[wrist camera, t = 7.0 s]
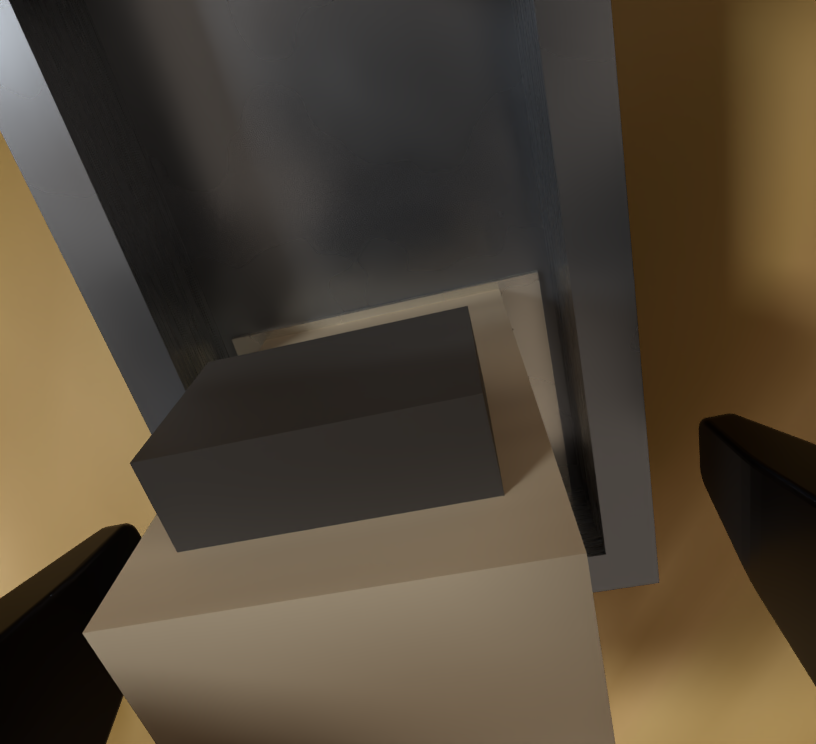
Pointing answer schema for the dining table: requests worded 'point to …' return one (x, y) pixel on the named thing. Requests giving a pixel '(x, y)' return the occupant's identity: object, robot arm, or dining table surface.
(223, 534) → the block
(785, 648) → the dining table surface
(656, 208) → the dining table surface
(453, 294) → the rail
